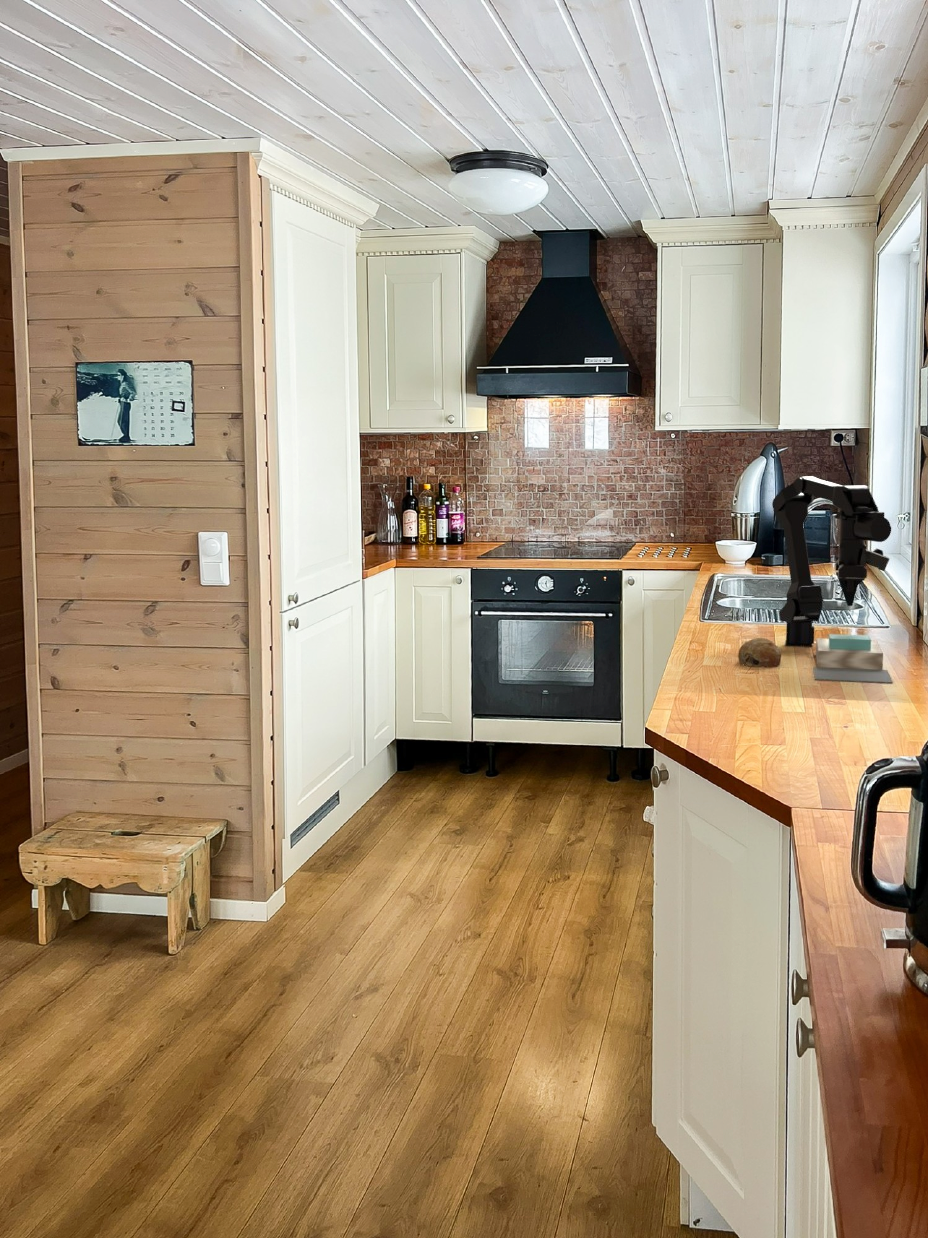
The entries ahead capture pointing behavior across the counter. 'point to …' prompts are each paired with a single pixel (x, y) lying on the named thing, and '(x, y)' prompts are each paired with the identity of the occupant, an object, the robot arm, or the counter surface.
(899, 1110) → the counter surface
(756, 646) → the brown rounded dome
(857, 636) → the teal rectangular block
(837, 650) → the board
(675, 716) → the counter surface
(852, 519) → the robot arm
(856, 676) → the mat
